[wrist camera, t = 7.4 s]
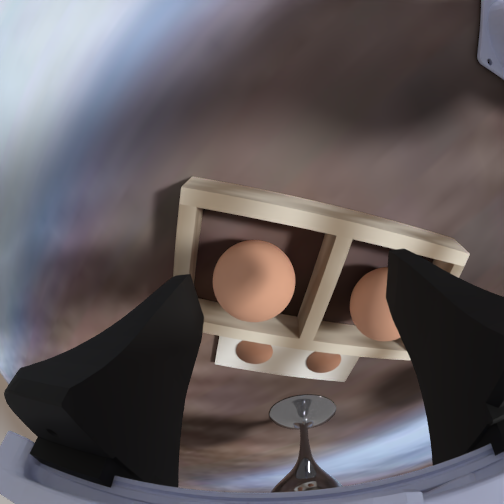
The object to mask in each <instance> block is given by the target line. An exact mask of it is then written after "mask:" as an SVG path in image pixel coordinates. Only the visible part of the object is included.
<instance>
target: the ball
mask: <svg viewBox="0 0 504 504" xmlns="http://www.w3.org/2000/svg"><path fill="white" fill-rule="evenodd" d="M387 273H388V267H383V268H378V269H375V270H372V271H370V272H368V273H367V274H365V275H364V276H363V277H362V278H361V279H360V280H359V281H358V282H357V284H356V285H355V287H354V289H353V291H352V294H351V299H350V313H351V317H352V320H353V322H354V324H355V326H356V327H357V328H358V330H359V331H360V332H361V333H362V334H363V335H365V336H366V337H368V338H370V339H373V340H376V341H384V342H385V341H392V340H396V339H398V338H400V335H399V332H398V330H397V328H396V326H395V324H394V321H393V319H392V316H391V313H390V310H389V307H388V303H387V300H386V287H387Z"/></svg>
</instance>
